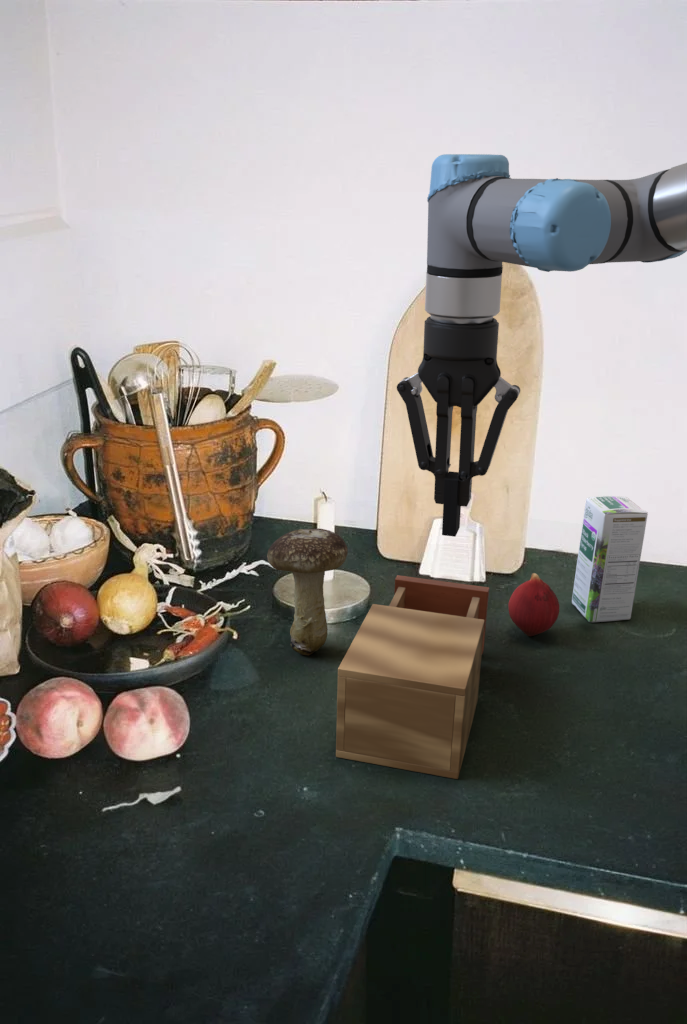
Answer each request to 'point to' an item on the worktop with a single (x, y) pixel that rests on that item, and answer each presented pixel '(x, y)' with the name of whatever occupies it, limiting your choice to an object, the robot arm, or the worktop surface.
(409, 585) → the drawer
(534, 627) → the onion
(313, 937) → the worktop surface
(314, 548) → the mushroom
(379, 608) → the cabinet
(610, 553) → the syrup box
